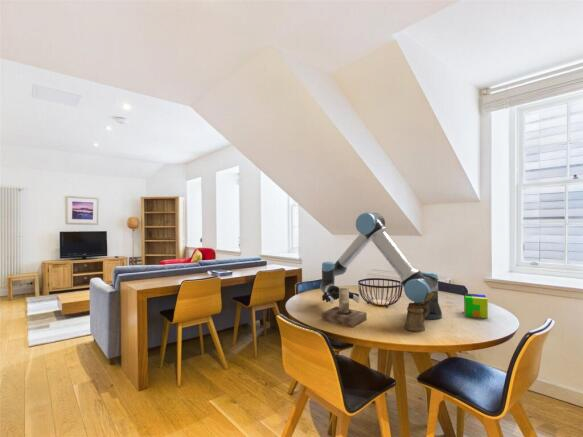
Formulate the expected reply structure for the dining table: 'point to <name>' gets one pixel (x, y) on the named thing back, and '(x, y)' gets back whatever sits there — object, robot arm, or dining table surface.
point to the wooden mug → (418, 314)
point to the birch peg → (344, 301)
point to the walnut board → (344, 317)
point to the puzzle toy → (475, 305)
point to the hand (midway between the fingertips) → (345, 300)
